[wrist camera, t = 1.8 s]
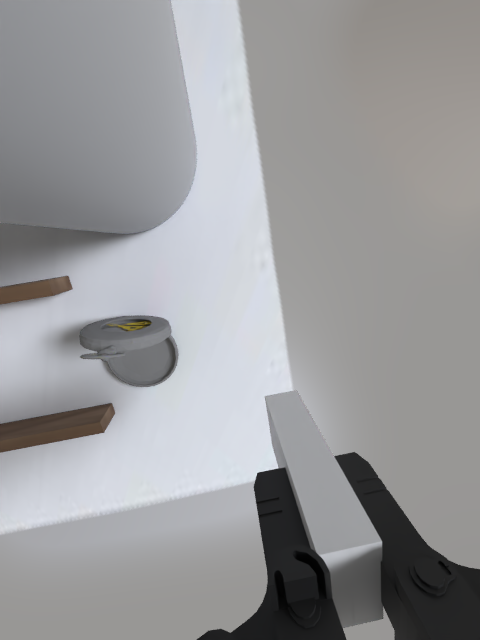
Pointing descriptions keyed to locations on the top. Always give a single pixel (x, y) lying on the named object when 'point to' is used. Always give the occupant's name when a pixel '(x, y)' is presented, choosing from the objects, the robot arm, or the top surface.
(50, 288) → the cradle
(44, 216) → the cylinder vase
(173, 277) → the top surface
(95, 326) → the pocket watch
